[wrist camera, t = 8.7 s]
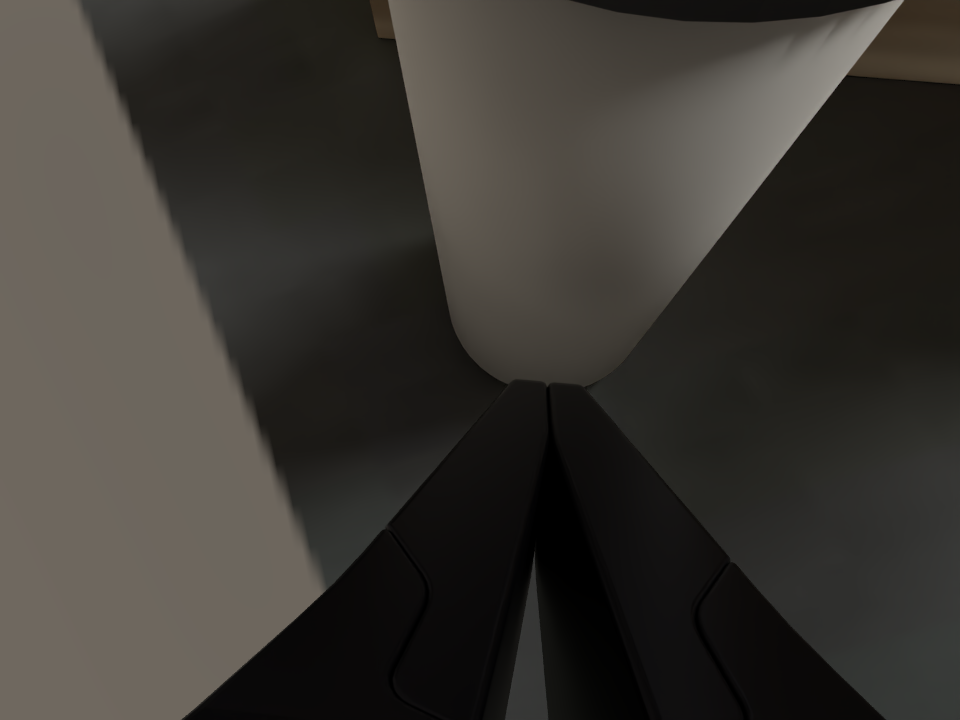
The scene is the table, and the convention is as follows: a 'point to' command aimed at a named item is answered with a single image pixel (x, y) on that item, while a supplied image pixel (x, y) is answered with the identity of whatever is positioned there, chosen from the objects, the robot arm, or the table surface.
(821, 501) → the table surface
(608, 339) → the grey capped bottle
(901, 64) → the mount
